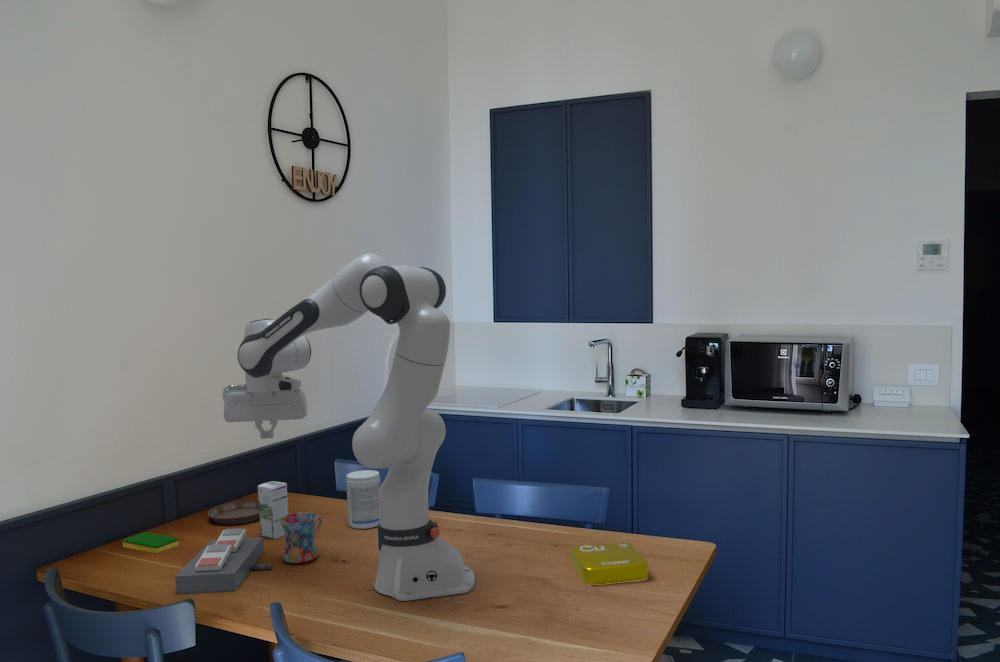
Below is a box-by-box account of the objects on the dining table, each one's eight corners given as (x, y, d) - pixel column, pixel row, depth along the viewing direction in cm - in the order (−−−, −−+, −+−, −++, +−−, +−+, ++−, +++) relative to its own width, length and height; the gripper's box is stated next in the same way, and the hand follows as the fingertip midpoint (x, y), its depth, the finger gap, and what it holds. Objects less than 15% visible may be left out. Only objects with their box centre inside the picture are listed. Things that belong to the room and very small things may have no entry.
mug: (300, 568, 182) (297, 525, 182) (273, 562, 187) (271, 520, 187) (335, 553, 193) (333, 512, 192) (309, 547, 198) (307, 507, 197)
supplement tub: (389, 524, 215) (387, 473, 214) (361, 532, 209) (358, 479, 208) (369, 517, 222) (367, 468, 221) (341, 525, 216) (339, 474, 215)
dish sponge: (156, 555, 196) (156, 546, 196) (122, 548, 203) (121, 539, 203) (179, 546, 203) (179, 537, 203) (145, 540, 209) (144, 531, 209)
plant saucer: (222, 531, 214) (222, 520, 214) (199, 518, 227) (198, 508, 227) (281, 517, 226) (280, 507, 226) (255, 506, 239) (255, 496, 239)
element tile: (585, 588, 166) (585, 567, 166) (569, 564, 181) (569, 544, 180) (651, 582, 168) (650, 561, 168) (629, 559, 183) (629, 539, 183)
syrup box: (290, 533, 209) (288, 482, 208) (273, 540, 204) (271, 487, 204) (276, 530, 212) (273, 479, 212) (259, 537, 207) (256, 484, 207)
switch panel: (284, 551, 195) (283, 536, 195) (258, 589, 170) (257, 572, 170) (212, 554, 194) (212, 539, 194) (176, 593, 169) (175, 576, 169)
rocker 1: (232, 552, 181) (231, 543, 180) (220, 573, 172) (219, 564, 171) (208, 554, 180) (207, 544, 180) (195, 574, 172) (194, 565, 171)
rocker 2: (246, 536, 193) (245, 528, 192) (236, 554, 184) (235, 545, 183) (224, 537, 192) (223, 529, 192) (213, 556, 184) (212, 547, 183)
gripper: (218, 386, 186) (221, 442, 187) (302, 383, 187) (305, 438, 188) (225, 383, 193) (228, 437, 193) (307, 380, 194) (309, 433, 194)
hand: (267, 438), depth 191 cm, fingers closed
